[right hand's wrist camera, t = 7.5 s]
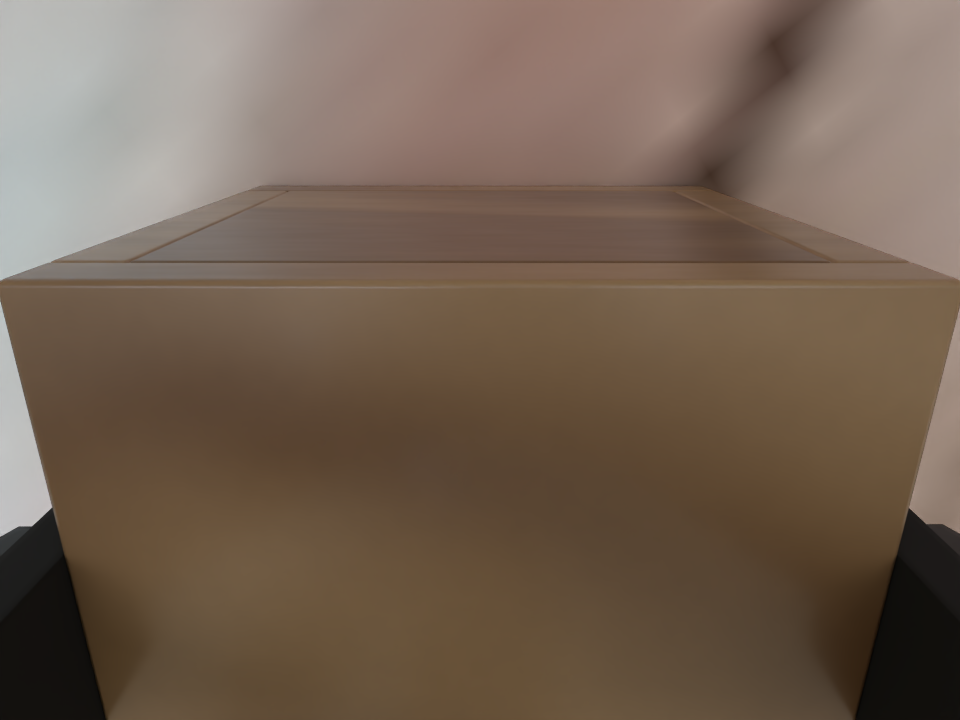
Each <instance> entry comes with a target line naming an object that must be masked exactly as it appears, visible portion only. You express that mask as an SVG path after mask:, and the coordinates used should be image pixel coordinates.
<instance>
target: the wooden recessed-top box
mask: <svg viewBox="0 0 960 720" xmlns="http://www.w3.org/2000/svg"><path fill="white" fill-rule="evenodd" d="M0 301H1V305H2V309H3V313H4V317H5V321H6V325H7V329H8V333H9V337H10V341H11V344H12V348H13V352H14V356H15V360H16V364H17V368H18V372H19V376H20V380H21V384H22V388H23V392H24V396H25V400H26V404H27V408H28V412H29V416H30V420H31V424H32V428H33V432H34V436H35V440H36V444H37V448H38V452H39V456H40V460H41V464H42V468H43V472H44V476H45V480H46V484H47V488H48V492H49V496H50V500H51V504H52V507H53V511H54V515H55V519H56V523H57V527H58V531H59V535H60V539H61V543H62V547H63V551H64V555H65V559H66V563H67V567H68V571H69V575H70V579H71V583H72V587H73V591H74V595H75V599H76V603H77V607H78V611H79V615H80V619H81V623H82V627H83V631H84V635H85V639H86V643H87V647H88V651H89V655H90V659H91V663H92V667H93V670H94V674H95V678H96V682H97V686H98V690H99V694H100V698H101V702H102V706H103V710H104V714H105V718H106V720H855V719H856V715H857V711H858V707H859V703H860V699H861V695H862V691H863V687H864V683H865V679H866V675H867V671H868V667H869V663H870V659H871V656H872V652H873V648H874V644H875V640H876V636H877V632H878V628H879V624H880V620H881V616H882V612H883V608H884V604H885V600H886V596H887V592H888V588H889V584H890V580H891V576H892V572H893V568H894V564H895V560H896V557H897V553H898V549H899V545H900V541H901V537H902V533H903V529H904V525H905V521H906V517H907V513H908V509H909V505H910V501H911V497H912V493H913V489H914V485H915V481H916V477H917V473H918V469H919V465H920V461H921V458H922V454H923V450H924V446H925V442H926V438H927V434H928V430H929V426H930V422H931V418H932V414H933V410H934V406H935V402H936V398H937V394H938V390H939V386H940V382H941V378H942V374H943V370H944V366H945V362H946V359H947V355H948V351H949V347H950V343H951V339H952V335H953V331H954V327H955V323H956V319H957V315H958V311H959V307H960V280H958V279H955V278H953V277H950V276H947V275H944V274H941V273H939V272H936V271H933V270H930V269H928V268H925V267H922V266H919V265H917V264H914V263H909V262H908V261H906V260H903V259H900V258H898V257H895V256H892V255H889V254H887V253H884V252H881V251H878V250H876V249H873V248H870V247H867V246H865V245H862V244H859V243H856V242H854V241H851V240H848V239H845V238H843V237H840V236H837V235H834V234H832V233H829V232H826V231H823V230H821V229H818V228H815V227H812V226H809V225H807V224H804V223H801V222H798V221H796V220H793V219H790V218H787V217H785V216H782V215H779V214H776V213H774V212H771V211H768V210H765V209H763V208H760V207H757V206H754V205H752V204H749V203H746V202H743V201H741V200H738V199H735V198H732V197H730V196H727V195H724V194H721V193H719V192H716V191H713V190H711V189H708V188H705V187H702V186H259V187H256V188H253V189H251V190H248V191H245V192H242V193H239V194H237V195H234V196H231V197H228V198H225V199H223V200H220V201H217V202H214V203H212V204H209V205H206V206H203V207H201V208H198V209H195V210H192V211H189V212H187V213H184V214H181V215H178V216H176V217H173V218H170V219H167V220H165V221H162V222H159V223H156V224H153V225H151V226H148V227H145V228H142V229H140V230H137V231H134V232H131V233H129V234H126V235H123V236H120V237H118V238H115V239H112V240H109V241H106V242H104V243H101V244H98V245H95V246H93V247H90V248H87V249H84V250H82V251H79V252H76V253H73V254H70V255H68V256H65V257H62V258H59V259H57V260H54V261H52V262H51V263H47V264H44V265H41V266H38V267H36V268H33V269H30V270H27V271H25V272H22V273H19V274H16V275H14V276H11V277H8V278H5V279H3V280H1V281H0Z"/></svg>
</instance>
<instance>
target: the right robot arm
mask: <svg viewBox="0 0 960 720" xmlns="http://www.w3.org/2000/svg"><path fill="white" fill-rule="evenodd" d="M0 720H106V718H105V714H104V710H103V706H102V702H101V698H100V694H99V690H98V686H97V682H96V678H95V674H94V670H93V667H92V663H91V659H90V655H89V651H88V647H87V643H86V639H85V635H84V631H83V627H82V623H81V619H80V615H79V611H78V607H77V603H76V599H75V595H74V591H73V587H72V583H71V579H70V575H69V571H68V567H67V563H66V559H65V555H64V551H63V547H62V543H61V539H60V535H59V531H58V527H57V523H56V519H55V515H54V511H53V508H51V509H50V510H49V511H48V512H47V513H46V514H45V515H44V516H43V517H42V518H41V519H40V520H39V521H38V522H36V523H35V524H34V525H33V526H32V527H17V528H15V529H14V530H12V531H10V532H8V533H7V534H5V535H3V536H1V537H0ZM855 720H960V534H959V533H957V532H955V531H954V530H952V529H950V528H948V527H946V526H945V525H943V524H925V523H924V522H923V521H922V520H921V519H920V518H919V517H918V516H917V515H916V514H915V513H914V512H913V511H911V510H910V509H908V513H907V517H906V521H905V525H904V529H903V533H902V537H901V541H900V545H899V549H898V553H897V557H896V560H895V564H894V568H893V572H892V576H891V580H890V584H889V588H888V592H887V596H886V600H885V604H884V608H883V612H882V616H881V620H880V624H879V628H878V632H877V636H876V640H875V644H874V648H873V652H872V656H871V659H870V663H869V667H868V671H867V675H866V679H865V683H864V687H863V691H862V695H861V699H860V703H859V707H858V711H857V715H856V719H855Z"/></svg>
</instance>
